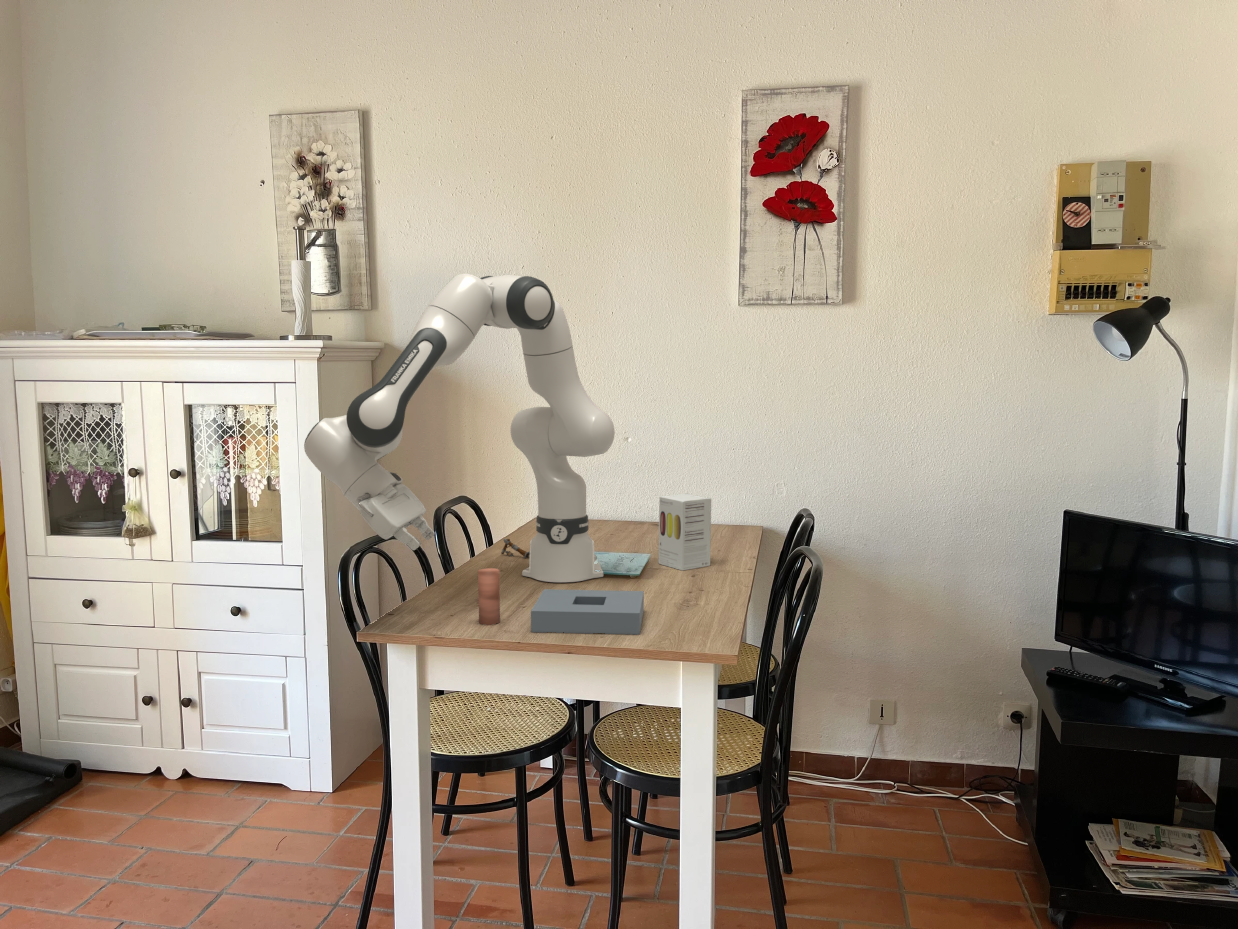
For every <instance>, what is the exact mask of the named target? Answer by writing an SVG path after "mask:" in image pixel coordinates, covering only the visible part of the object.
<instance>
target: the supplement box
mask: <svg viewBox="0 0 1238 929" xmlns="http://www.w3.org/2000/svg"><path fill="white" fill-rule="evenodd" d="M658 504H659V506H658V508H659V509H658V510H659V511H658V515H659V516H658V519H659V520H658V564H660V565H662V566H666V567H669V568H671V569H676V570H679V571H687V570H693V569H700V568H703V567H710V566H711V542H712V539H711V536H712V534H711V533H712V498H711V497H706V496H705V497H704V496H701V495H695V494H690V493H680V494H679V493H678V494H671V495H662V496H661V495H660V496H659V502H658Z"/></svg>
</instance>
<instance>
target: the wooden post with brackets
mask: <svg viewBox="0 0 1238 929" xmlns="http://www.w3.org/2000/svg"><path fill="white" fill-rule="evenodd" d="M503 543H504V546H503V548H502V549H501V552H500V554H501V555H504V554H505V553H506V556H508V557H510V556H513V557H514V553H512V552H511V550H507V549H508V548H511V549H512V550H514V551H515V552H517V553H519V554H520V555H521V556H523V559H524V558H525V559H526V557H527V558H530V550H529V551H527V550H524V549H522V548H521V547H519V546H518V545H516V544H515V543H513V542H512V541H511V539H510V538H503Z"/></svg>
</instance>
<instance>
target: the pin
mask: <svg viewBox="0 0 1238 929" xmlns="http://www.w3.org/2000/svg"><path fill="white" fill-rule="evenodd" d="M477 578H478V579H477V584H478V586H477V588H478V593H477V594H478V623H479V624H480V625H483V624H486V625H485V626H493V625H492V624H494V625H497V624H496V623H498V624H500V623H499V622H501V602H500V601H501V600H500V599H501V598H500V597H501V594H500V592H501V591H500V590H501V589H500V588H501V587H500V569H498V568H494V567H493V568H491V567H488V568H482V569H481V568H480V569H478V570H477Z"/></svg>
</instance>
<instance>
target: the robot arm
mask: <svg viewBox="0 0 1238 929" xmlns="http://www.w3.org/2000/svg"><path fill="white" fill-rule="evenodd" d="M483 326H487V327H495V328H500V329H506V330H509V329H517V331H518V334H519V335H520V340H521V348H522V354H523V359H524V367H525V371H526V377H527V382H528V386H529V387H530V389H531V390H532V391H533V392H534V393H536V394H538V395H539V396H540V397H541V398H543V399H544V400H545V402H546V403H547V404H548V406H534V407H529V408H525V409H521V410H519V411H518V412H516V414H515V415H514V417H513V419H512V421H511V423H510V437H511V441H512V443H513V444H514V446H515V447H516V448H517V449H518V450H519V451H520V452H521V453H522V454H523V455H524V456H525V458H526V459H527V461H528V463H529V465H530V467H531V468H532V471H533V474H534V477H535V482H536V492H537V513H538V515H537V516H536V521H535V525H536V528H535V530H536V532H537V533H536V534H535V536H534V537H532V539H530V542H529V551H530V555H529V563H528V564H529V567H527V568H525V569H523V570H522V572H521V575H522V576H523V577H529V578H532V579H534V580H538V581H541V582H549V583H575V582H581V581H588V580H591V579H597V578H603V577H604V571H603V569H602V566H601V565H600V563H599V561H598V563H597V564H594V562H595V561H596V560H598V559H597V558H598V557H597V554H595V541H594V540H593V538H592V537H591V536H590V534H589V528H590V527H589V526H590V520H589V515H588V514H587V484H586V482H585V479H584V477H582V476H581V475H580V474H578V473H577V472H576V471H575V470H574V469H573V468H572V467H571V465H570V463H569V460H568V457H579V458H580V457H581V458H587V457H594V456H599V455H603V454H605V453H606V452H608V451H609V450H610V449H611V446H612V444H613V443H614V440H615V434H616V433H615V426H614V422H613V420H612V418H611V417H610V415H608V413H607V412H605V411H604V410H602V409H601V408H599V406H597V405H596V404H595V402H594V401H593V400H592V399H591V397H590V396H589V395H588V392H586V390H585V388H584V386H583V384H582V381H581V379H580V376H579V372H578V366H577V363H576V358H575V352H574V351H575V350H574V344H573V340H572V335H571V330H570V327H569V323H568V320H567V316H566V314H565V311H564V309H563V306H562V305H561V304H560V303H559V301H557V300H555V299H554V296H553V293H552V292H551V289H550V288H549V286H548V284H546V283H545V282H544V281H542V280H541V279H539V278H536V277H534V276H529V275H525V276H524V275H517V274H503V275H494V276H493V275H485V276H482V277H479V276H477V275H474V274H471V273H468V272H467V273H465V272H463V273H459V274H457V275H454V276H453V278H451V280H449V281H448V282H447V283H446V284H445V285H444V286H443V287H442V288H441V290H439V291H438V293H437V294H436V295H435V296H434V297H433V299H431V301H430V303H429V304H428V305H427V307H426V308H425V310H424V311H423V312H422V314H421V316H420V317H419V320H418V321H417V323H416V324H415V327H414V329H413V331H412V333H411V334H410V337H409V340H408V342H407V344H406V346H405V348H404V349H403V351H402V352H401V353H400V354H399V356H398V357H397V359H395V361H394V362H393V364H392V365H391V366H390V368H389V369H388V370H387V372H386V373H385V375H384V376H383V377H382V378H381V379H380V380H379V381H378V382H377V383H376V384H375V385H373V386H372V387H370V388H368V389H367V390H366V391H364V392H363V391H362V392H361V393H360V394H359V395H357V396H356V397H355V398H354V399H353V400H352V401H351V403H350V404H349V406H348V409H347V412H346V414H345V415H341V416H336V417H324V418H322V419H320V420H319V421H318V422H317V423H315V424H314V425H313V427H312V428H311V429H310V430H309V432H308V434H307V436H306V437H305V440H304V445H303V446H304V447H303V448H304V449H303V450H304V452H305V455H306V457H307V459H308V460H310V462H311V463H312V464H313V465H314V467H315V468H316V469H317V470H318V471H319V473H321V474H322V476H324V477H325V478H326V479H327V480H328V481H329V482H331V483H333V484H334V485H336V486H337V487H338V488H339V490H340V491H341V493H342V495H343V497H345V498H346V499H347V500H348V501H349V503H351V504H352V505H353V506H354V507H355V508H356V509H357V510H358V511H359V513H360V516H361V517H362V518H363V519H364V521H365V523H366V524H368V526H369V527H370V528H371V529H372V530H373V531H374V532H375V533H376V534H377V535H378V536H379V537H380V538H382V539H384V540H386V541H387V540H389V539H390V538H392V537H394V538H395V539H396V540H397V541H399V542H401V543H402V544H404V545H406V546H407V547H408V548H409V549H410V550H411V551H415V550H417V549H418V548H419V547H420V546H421V544H422V543H421V541H420V540H419V539H418V538H417V536H413V535H412V534H411V533H409V532H408V529H407V528H408V527H410V526H413V527H414V528H416V529H417V530H419V533H421V536H422V537H423V538H424V540H426V541H430V540H431V539H432V538H433V537H435V536H436V535H435V534H436V533H435V531H434V530H433V529H432V528H431V527H430V525H429V523H428V521H427V520H426V519H425V518H424V515H425V514H426V512H427V509H426V507H425V505H424V503H422V501H421V500H420V499H419V498H418V497H417V496H416V494H415V493H414V492H413V491H412V490H411V489H410V487H408V486H407V485H405V484H404V483H403V481H404V479H403V477H401V476H400V475H399V474H398V473H396V472H392V471H389V470H387V469H386V468H384V467H383V466H382V465H381V464H380V463H379V462H378V461H379V460H380V459H382V458H384V457H385V456H386V455H388V454H390V453H392V452H393V451H395V450H396V449H397V448H398V446H399V445H400V444H401V442H402V438H403V434H404V422H405V415H406V410H407V407H408V404H409V402H410V401H411V399H413V397H414V395H415V394H416V392H417V391H418V390H419V389H420V387H421V385H422V384H423V383H424V381H425V380H426V378H427V377H428V376H429V375H430V373H431V372H432V371H433V370H434V369H436V368H437V367H441V366H442V367H444V366H449V365H452V364H454V363H455V362H456V361H457V360H458V359H459V358H460V357H461V356H462V355H463V354H464V352H466V350H467V349H468V348H469V347H470V345H471V344H472V342H474V339H475V337H476V336H477V334H479V331H480V330H481V328H482V327H483ZM595 570H600V571H599V572H597V571H595Z"/></svg>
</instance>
